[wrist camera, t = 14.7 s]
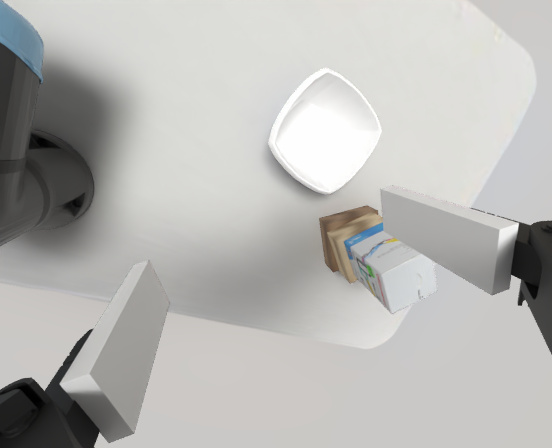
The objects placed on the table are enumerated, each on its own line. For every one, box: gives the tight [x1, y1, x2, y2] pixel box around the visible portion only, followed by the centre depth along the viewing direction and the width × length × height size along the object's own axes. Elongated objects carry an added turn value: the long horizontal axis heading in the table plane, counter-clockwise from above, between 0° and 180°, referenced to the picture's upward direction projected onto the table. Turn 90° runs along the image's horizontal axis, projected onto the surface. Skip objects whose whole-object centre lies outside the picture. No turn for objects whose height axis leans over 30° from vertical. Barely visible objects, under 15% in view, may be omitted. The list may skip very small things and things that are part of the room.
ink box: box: [344, 222, 438, 314], centre depth 43 cm, size 8×8×12 cm
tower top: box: [327, 212, 383, 283], centre depth 50 cm, size 10×10×4 cm
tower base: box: [319, 206, 378, 272], centre depth 54 cm, size 11×11×4 cm
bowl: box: [268, 68, 382, 195], centre depth 42 cm, size 15×15×11 cm
